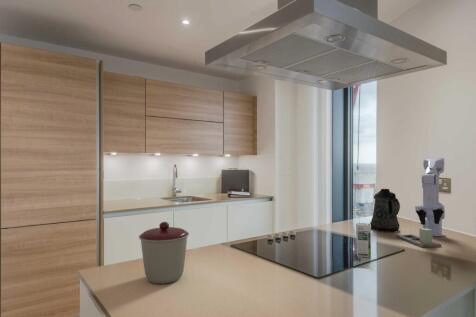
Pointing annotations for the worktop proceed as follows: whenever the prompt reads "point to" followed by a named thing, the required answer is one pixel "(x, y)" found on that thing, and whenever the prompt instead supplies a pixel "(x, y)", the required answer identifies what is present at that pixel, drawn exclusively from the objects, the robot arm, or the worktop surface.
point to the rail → (418, 243)
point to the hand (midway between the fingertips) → (429, 224)
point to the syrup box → (363, 239)
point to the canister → (164, 253)
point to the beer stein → (385, 212)
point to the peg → (425, 235)
